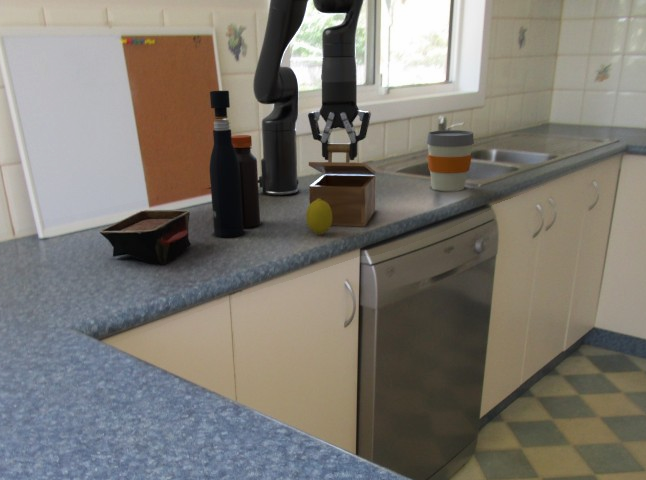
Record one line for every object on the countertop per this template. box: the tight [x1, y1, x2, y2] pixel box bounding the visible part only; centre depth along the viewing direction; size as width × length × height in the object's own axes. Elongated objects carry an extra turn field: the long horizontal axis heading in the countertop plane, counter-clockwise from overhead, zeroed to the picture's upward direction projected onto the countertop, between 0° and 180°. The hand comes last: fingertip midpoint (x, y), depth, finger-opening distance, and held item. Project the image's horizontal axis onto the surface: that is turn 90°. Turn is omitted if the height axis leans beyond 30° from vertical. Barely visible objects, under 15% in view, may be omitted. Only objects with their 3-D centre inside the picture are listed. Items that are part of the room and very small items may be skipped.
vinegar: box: [231, 134, 261, 229], centre depth 149 cm, size 7×7×20 cm
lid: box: [308, 143, 376, 176], centre depth 152 cm, size 15×13×5 cm
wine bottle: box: [209, 90, 245, 239], centre depth 140 cm, size 6×6×30 cm
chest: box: [308, 174, 376, 227], centre depth 155 cm, size 15×13×9 cm
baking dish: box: [99, 209, 192, 266], centre depth 132 cm, size 14×18×10 cm
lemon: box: [305, 199, 332, 236], centre depth 141 cm, size 6×6×8 cm
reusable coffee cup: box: [426, 129, 475, 192], centre depth 183 cm, size 13×13×15 cm
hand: (339, 159), depth 148 cm, fingers closed on lid, 5 cm apart
